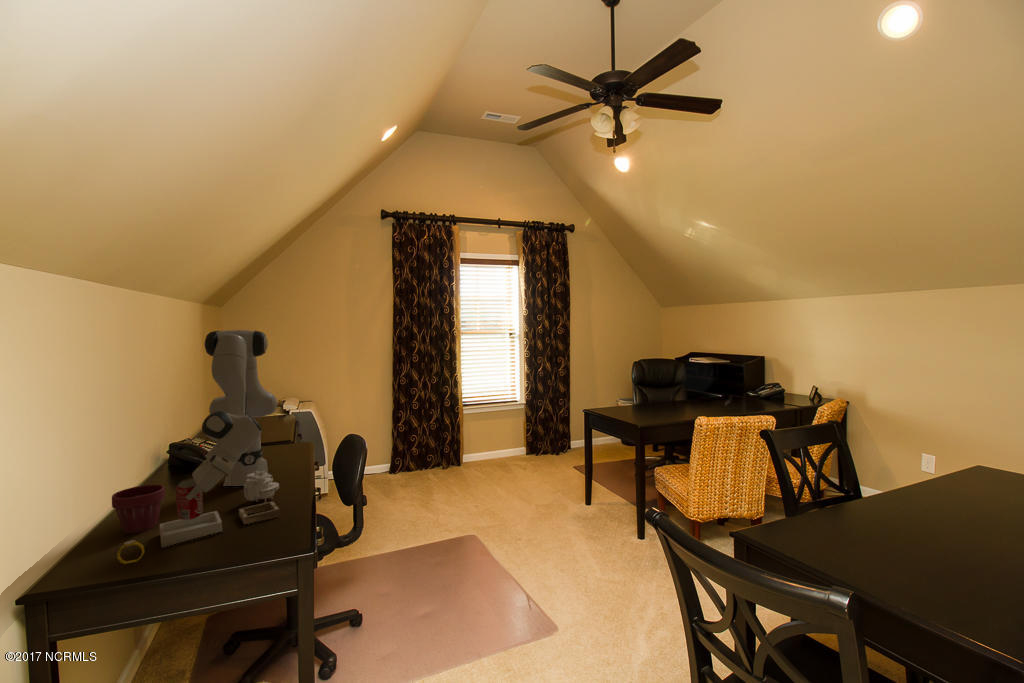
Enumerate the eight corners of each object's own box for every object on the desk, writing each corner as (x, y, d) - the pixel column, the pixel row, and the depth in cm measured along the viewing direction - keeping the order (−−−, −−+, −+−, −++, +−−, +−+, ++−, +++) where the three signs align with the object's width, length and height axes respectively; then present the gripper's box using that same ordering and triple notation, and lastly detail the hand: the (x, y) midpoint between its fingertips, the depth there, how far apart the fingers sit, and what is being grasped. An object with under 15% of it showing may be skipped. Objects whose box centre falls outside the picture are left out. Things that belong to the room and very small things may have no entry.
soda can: (202, 508, 159) (201, 475, 157) (203, 518, 154) (202, 485, 151) (177, 513, 155) (175, 480, 153) (177, 524, 149) (175, 490, 147)
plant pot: (174, 523, 162) (172, 486, 161) (125, 540, 149) (123, 500, 149) (154, 516, 169) (152, 481, 168) (105, 532, 156) (103, 494, 156)
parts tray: (160, 534, 153) (159, 524, 153) (217, 520, 163) (217, 510, 163) (161, 548, 143) (160, 536, 142) (222, 532, 152) (221, 521, 152)
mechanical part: (285, 498, 183) (283, 468, 183) (254, 508, 173) (252, 476, 173) (269, 493, 189) (268, 464, 189) (239, 503, 179) (237, 472, 179)
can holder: (239, 515, 166) (238, 509, 166) (273, 507, 173) (272, 501, 173) (244, 525, 158) (244, 518, 158) (279, 516, 164) (279, 509, 164)
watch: (117, 567, 132) (114, 547, 131) (120, 563, 134) (117, 543, 134) (143, 560, 134) (140, 540, 134) (146, 556, 137) (143, 537, 137)
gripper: (208, 449, 164) (176, 483, 159) (215, 460, 148) (179, 498, 142) (224, 459, 167) (192, 493, 161) (232, 470, 151) (198, 509, 145)
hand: (186, 495), depth 152 cm, fingers closed on soda can, 6 cm apart
